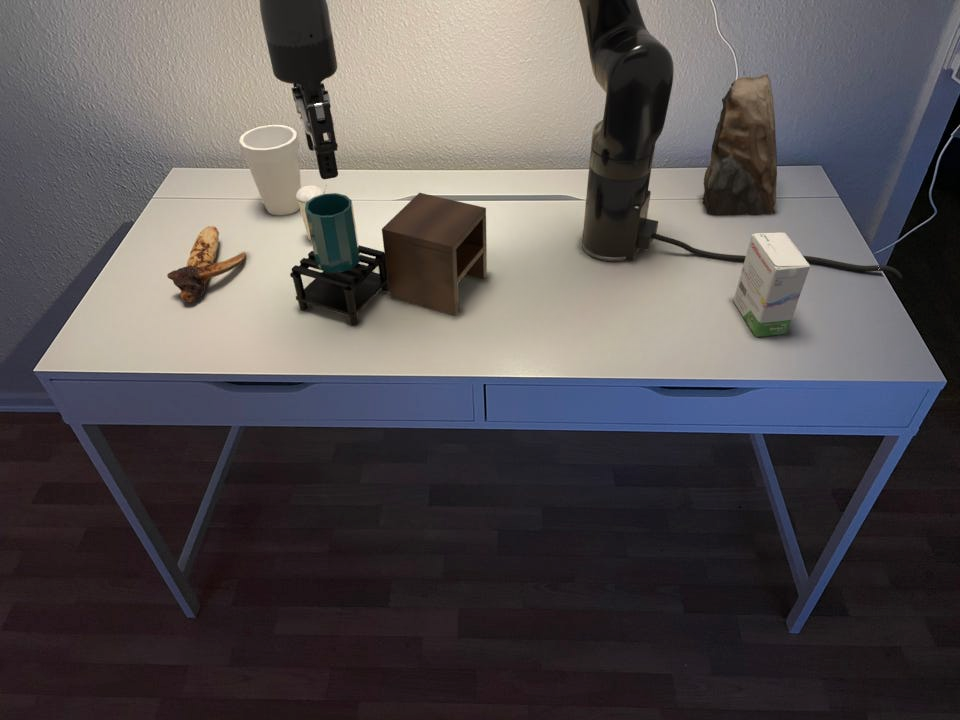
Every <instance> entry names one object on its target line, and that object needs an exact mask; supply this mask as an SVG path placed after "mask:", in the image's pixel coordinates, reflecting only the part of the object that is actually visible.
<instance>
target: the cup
mask: <svg viewBox="0 0 960 720" xmlns="http://www.w3.org/2000/svg"><path fill="white" fill-rule="evenodd" d="M305 212H306V217H307V222H308V227H309V232H310V237H311V241H310V242H311V246H312V251H314V256H315V261H316V265H317V266H318V267H319V268H320V269H321V270H320V271H322V270H323V271H326V272H330V273H337V272H345V271H347V270H350V269H352V268H354V267H355V266H356V265H357V264H358V263H359V264H360V263H361V262H360V255H361V253H360V251H359V245H360V244H359V237H358V232H357V226H356V219H355V213H354V206H353V200H352V199H351V198H349V197H348V196H347V195H345V194H341V193H337V192H333V193H325V194H322V195H319V196H316V197H313V198H312V199H311V200H309V201H308V202H307V203H306V206H305ZM323 271H322V272H323Z"/></svg>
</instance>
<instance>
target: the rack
mask: <svg viewBox="0 0 960 720" xmlns="http://www.w3.org/2000/svg"><path fill="white" fill-rule="evenodd" d="M359 251H360V262H359V263H358V264H357V265H356V266H355V267H354V268H352V269H350V270H347V271H345V272H337V273H330V272H326V271H323V270H321V269H320V268H319V267H318V266H317V265H316V261H315V256H314V251H313V250H311V251H309V252H308V253H307V256H308V257H307V258H306V257H303V258H301V260H300V261H299V265H297V264H296V265H294V266H293V267H292V268H291V272H290V274H289V275H290V278H292V281H293V286H294V289H295V294H296V296H295V300H296V301H297V302H298V306H299V310H300V311H307V310H308V309H309V305H311V306H315V307H317V308H322V309H325V310H328V311H332V312H335V313H338V314H340V315H344V316H347V317H348V318H349V324H350V326H352V327H356V326H358V325H359V317H358V314H359V313H360V312H361V310H363V309H364V308H365V307H366V305H368V303H370V301H371V300H373V298H374V297H375V296H376V295H377V294H378V293H379V292H380V290H381V291H382V292H383V293H387V292H389V284H388V276H387V268H386V260H385V252H384V250H383V251H382V250H378V249H375V248H371V247H368V246H363V245H360V244H359ZM366 264H367V265H366ZM311 268H312V269H311ZM377 268H378V272H376V271H375V270H376V269H377ZM318 270H319V271H318ZM302 276H304V277H309V278H312V279H313V280H312V281H310V283H308V285H306V287H305V286H304V283H303V279H302V278H303V277H302Z"/></svg>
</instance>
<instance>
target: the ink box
mask: <svg viewBox="0 0 960 720" xmlns="http://www.w3.org/2000/svg"><path fill="white" fill-rule="evenodd" d="M745 256H746V257H745V261H743V264H742V268H741V272H740V276H739V279H738V283H737V285H736V289H735V293H734V296H733V299H732V300H733V303H734V305H735V306H736V308H737V310H738V312H739V313H740V314H741V316H742V318H743V319H744V321H745V323H746V324H747V326H748V328H749V329H750V331H751V332H752V334H753V336H755V337H756V338H759V337H771V336H780V335H786V334H788V331H789V329H790V325H791V323H792V320H793V317H794V314H795V311H796V308H797V305H798V303H799V299H800V296H801V293H802V290H803V288H804V285H805V283H806V280H807V277H808V274H809V271H810V268H811V265H810V262H807V261H806V260H805V258H804V257H803V256H804V255H803V254H802V253H801V252H800V250H799V249H798V247H797V246H796V245H795V243H794V242H793V241H792V240H791V239H790V237H789V236H788V234H787V233H786V232H785V231H782V232H781V231H780V232H758V233H752V234H751V235H750V240H749V243H748V247H747V250H746V254H745Z"/></svg>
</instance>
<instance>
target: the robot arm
mask: <svg viewBox="0 0 960 720" xmlns="http://www.w3.org/2000/svg"><path fill="white" fill-rule="evenodd" d="M258 1H259V10H260V11H259V12H260V17H261V22H262V27H263V32H264V36H265V40H266V45H267V49H268V55H269V59H270V63H271V68H272V72H273V75H274V77H275V78H276V79H277V80H279V81H280V82H283V83H286V84H290V85H292V86H293V87H291V94H292V95H291V96H292V98H293V102H294V105H295V109H296V112H297V114H298V115H299V119H300V120H301V122H302V124H303V128H304V134H305V139H306V144H307V147H308V149H309V150H310V151H313V152H314V153H315V157H316V162H317V168H318V172H319V176H320V178H321V179H322V180H331V179H335V178H338V176H339V170H338V164H337V159H336V153H335V152H336V151H338V148H339V146H338V143H337V138H336V133H335V123H334V120H333V115H332V111H331V107H332V106H331V99H330V95H329V91H328V89H327V90H326V87H325V83H324V82H323V81H325V80H326V79H329V78H331V77H332V76H334V75H335V74H336V72H337V70H338V61H337V54H336V48H335V41H334V36H333V29H332V23H331V17H330V11H329V6H328V1H327V0H258ZM578 3H579V5H580V6H579V7H580V10H581V15H582V20H583V26H584V30H585V37H586V42H587V49H588V54H589V61H590V65H591V70H592V74H593V77H594V79H595V80H596V81H595V82H596V83H597V84H598V86H599V87H600V88H601V89H602V90H603V91H604V93H605V94H606V95H605V102H604V109H603V117H602V120H600V121H598V122H597V123H596V124H595V125H594V127H593V129H592V133H591V143H590V152H589V153H590V154H589V164H588V174H587V175H588V177H587V186H586V197H585V208H584V219H583V227H582V228H583V229H582V237H581V243H580V244H581V249H582V250H583V251H584V252H585V253H586V254H587V255H588V256H590V257H592V258H594V259H597V260H600V261H604V262H622V261H628V262H633V261H634V260H635V258H636V257H637V255H638V253H639V251H640V250H643V251H649V249H650V247H651V245H652V243H653V241H654V240H656V241H660V242H664V243H666V244H670V245H673V246H676V247H679V248H682V249H683V250H685V251H687V252H689V253H691V254H693V255H697V256H699V257H700V256H701V257H705V258H709V259H710V258H711V259H714V260H715V259H716V260H721V261H736V262H744V261H745V257H746V255H740V254H727V253H718V252H711V251H706V250H702V249H698V248H696V247H693V246H692V245H689V244H687V243H686V242H683V241H681V240H678V239H675V238H672V237H668V236H665V235H661V234H658V233H657V232H658V226H659V220H655V219H651V218H648V214H649V213H648V212H649V207H650V201H651V195H652V192H651V190H649V186H650V180H651V174H652V167H653V162H654V161H653V160H654V156H655V149H656V144H657V141H658V139H659V138H660V136H661V134H662V132H663V130H664V128H665V123H666V119H667V113H668V108H669V105H670V104H669V103H670V98H671V95H672V90H673V82H674V71H675V69H674V60H673V57H672V55H671V52H670V51H669V50H668V48H667V47H666V46H665V45H664V44H663V43H661V41H660V40H658V39H657V38H656V37H655V36H654V35H652V34H651V33H650V31H649V30H648V28H647V26H646V24H645V20H644V18H643V16H642V12H641V9H640V7H639V3H638V0H578ZM324 134H326V135H327V139H325V137H324ZM802 256H803V257H804V258H805V260H806V261H807V262H808V263H815V264H819V265H820V264H821V265H825V266H830V267H835V268H840V269H844V270H851V271H857V272H887V273H889V274H891V275H892V276H893V277H895V278H896V279H903V275H902V273H900V272H899V270H897V269H896V268H894V267H892V266H890V265H885V264H882V265H881V264H880V265H879V264H874V265H873V264H872V265H859V264H854V263H848V262H842V261H837V260H833V259H827V258H823V257H816V256H809V255H802ZM878 266H879V267H878ZM879 268H880V269H879ZM878 269H879V270H878Z"/></svg>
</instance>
